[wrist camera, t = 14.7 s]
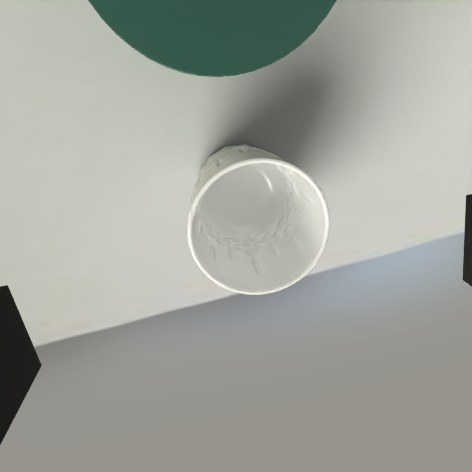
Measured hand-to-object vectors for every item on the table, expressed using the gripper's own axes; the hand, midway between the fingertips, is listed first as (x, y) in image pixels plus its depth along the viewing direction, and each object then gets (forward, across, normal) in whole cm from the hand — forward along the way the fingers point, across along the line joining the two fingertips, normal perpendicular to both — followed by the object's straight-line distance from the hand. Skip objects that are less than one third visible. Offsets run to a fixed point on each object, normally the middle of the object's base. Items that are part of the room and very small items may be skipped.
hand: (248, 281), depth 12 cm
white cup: (+21, +2, -3) cm, 21 cm away
